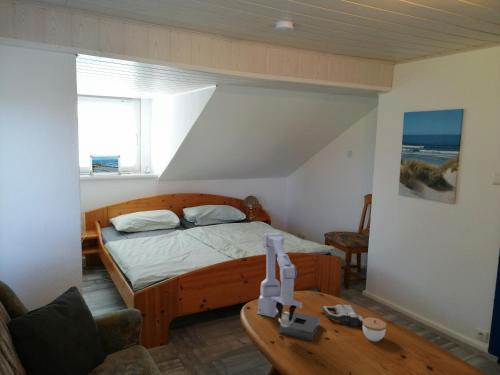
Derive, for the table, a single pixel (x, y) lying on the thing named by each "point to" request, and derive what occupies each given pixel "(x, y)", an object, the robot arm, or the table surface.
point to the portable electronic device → (343, 314)
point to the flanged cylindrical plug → (285, 319)
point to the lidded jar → (374, 329)
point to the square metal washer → (301, 326)
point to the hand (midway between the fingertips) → (285, 319)
